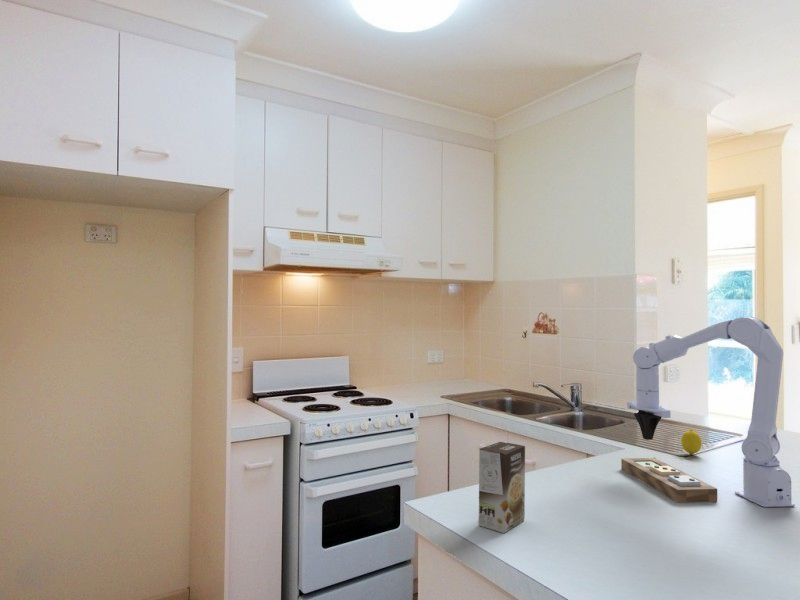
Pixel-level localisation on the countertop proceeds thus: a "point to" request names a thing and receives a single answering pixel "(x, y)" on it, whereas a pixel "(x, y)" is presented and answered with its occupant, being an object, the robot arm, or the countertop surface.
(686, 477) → the button two
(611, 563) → the countertop surface
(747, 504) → the countertop surface
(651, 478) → the frame
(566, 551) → the countertop surface
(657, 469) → the button three
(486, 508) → the coffee box
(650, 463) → the button one
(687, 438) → the lemon
